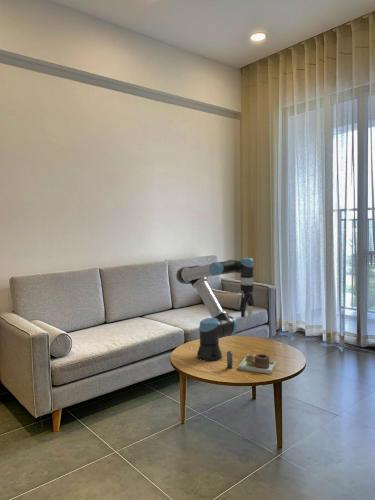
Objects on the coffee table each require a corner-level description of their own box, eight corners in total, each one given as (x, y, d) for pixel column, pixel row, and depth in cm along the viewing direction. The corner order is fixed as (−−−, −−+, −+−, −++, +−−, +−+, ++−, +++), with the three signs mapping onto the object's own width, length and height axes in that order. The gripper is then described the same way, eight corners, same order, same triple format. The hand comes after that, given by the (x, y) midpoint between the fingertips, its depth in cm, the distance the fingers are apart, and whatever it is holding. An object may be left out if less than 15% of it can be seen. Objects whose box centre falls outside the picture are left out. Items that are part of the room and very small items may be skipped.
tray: (238, 369, 215) (238, 365, 215) (245, 360, 229) (245, 357, 228) (271, 373, 208) (271, 370, 208) (276, 364, 221) (276, 361, 221)
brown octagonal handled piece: (270, 365, 219) (270, 354, 219) (267, 369, 212) (267, 359, 212) (248, 362, 224) (248, 352, 224) (245, 366, 217) (245, 356, 217)
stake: (226, 368, 218) (226, 352, 217) (228, 366, 220) (227, 351, 220) (231, 368, 216) (231, 353, 216) (233, 367, 219) (232, 351, 218)
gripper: (247, 280, 239) (247, 313, 241) (234, 287, 217) (233, 323, 219) (258, 281, 236) (258, 315, 238) (246, 288, 214) (246, 325, 216)
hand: (246, 319), depth 228 cm, fingers open, 13 cm apart
